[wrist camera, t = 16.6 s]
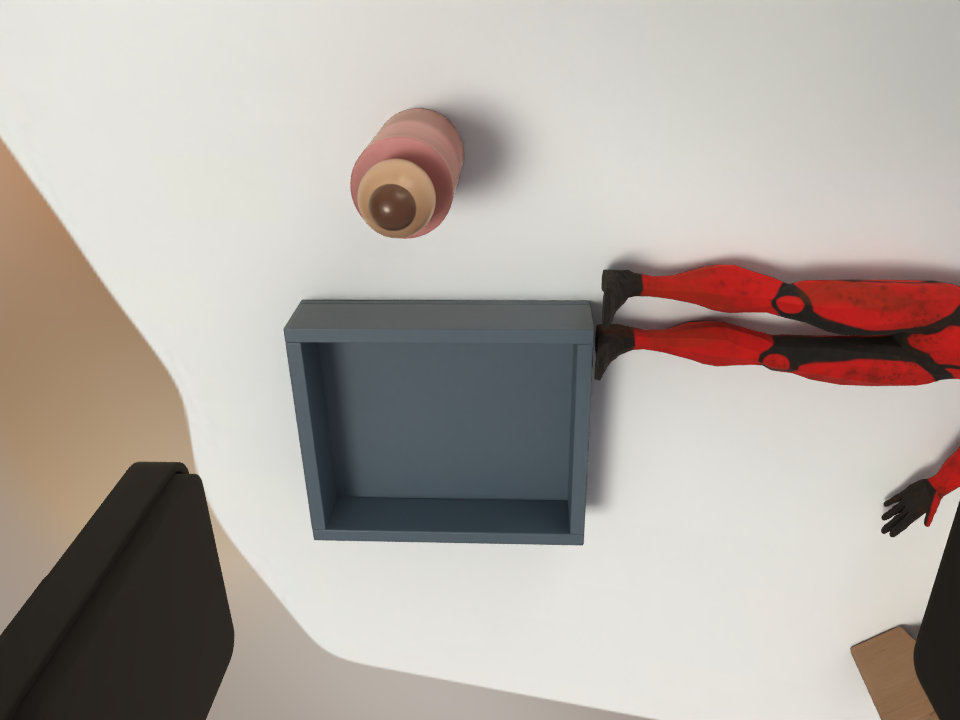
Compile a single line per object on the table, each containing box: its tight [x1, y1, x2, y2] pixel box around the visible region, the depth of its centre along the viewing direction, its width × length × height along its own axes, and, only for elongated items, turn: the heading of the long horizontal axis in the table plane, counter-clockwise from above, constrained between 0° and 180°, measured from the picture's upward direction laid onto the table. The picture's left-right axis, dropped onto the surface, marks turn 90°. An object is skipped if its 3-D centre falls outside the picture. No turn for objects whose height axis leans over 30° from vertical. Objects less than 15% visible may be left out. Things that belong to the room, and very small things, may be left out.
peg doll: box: [350, 108, 464, 239], centre depth 36 cm, size 4×4×10 cm
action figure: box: [595, 265, 960, 537], centre depth 40 cm, size 26×7×30 cm
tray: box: [284, 300, 594, 545], centre depth 45 cm, size 14×16×4 cm
